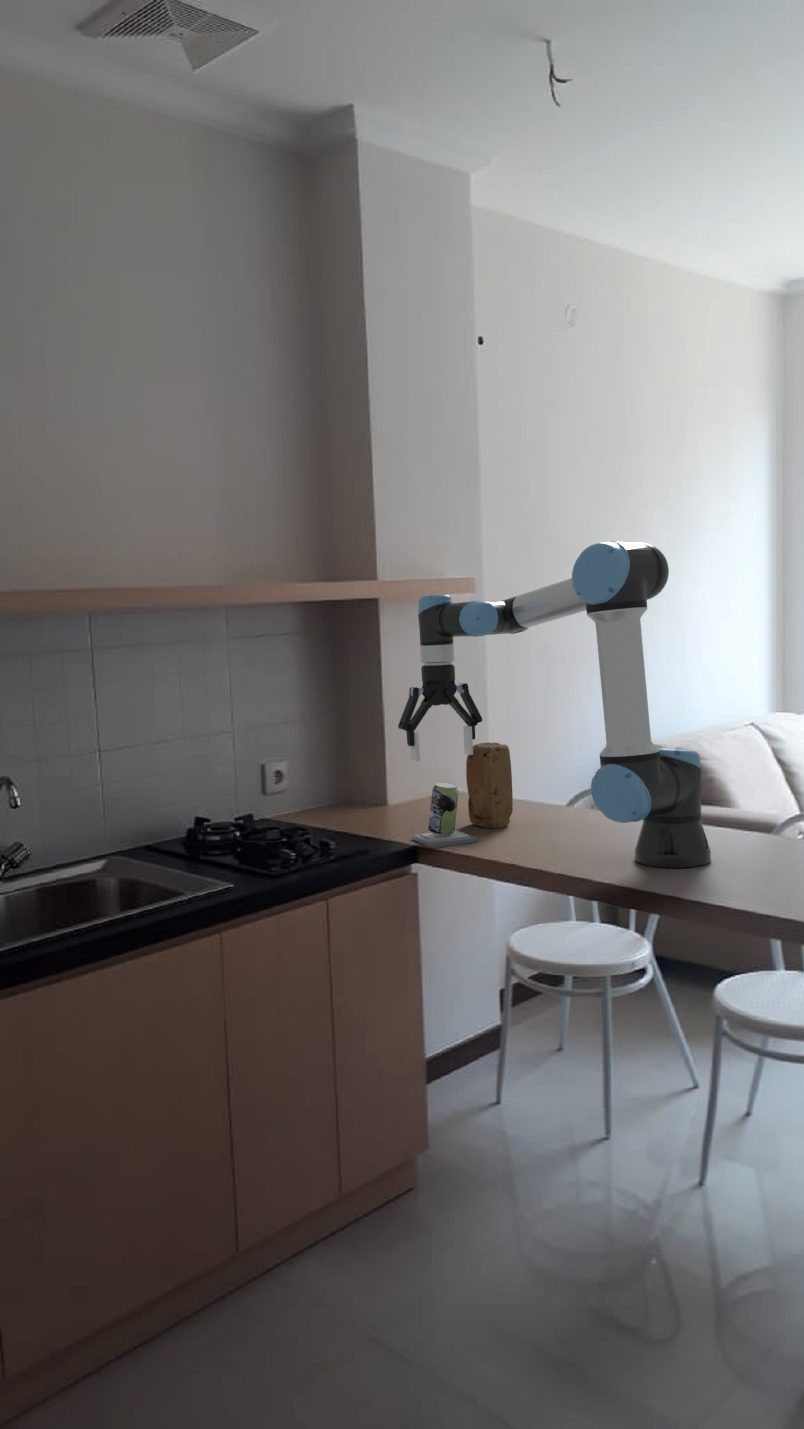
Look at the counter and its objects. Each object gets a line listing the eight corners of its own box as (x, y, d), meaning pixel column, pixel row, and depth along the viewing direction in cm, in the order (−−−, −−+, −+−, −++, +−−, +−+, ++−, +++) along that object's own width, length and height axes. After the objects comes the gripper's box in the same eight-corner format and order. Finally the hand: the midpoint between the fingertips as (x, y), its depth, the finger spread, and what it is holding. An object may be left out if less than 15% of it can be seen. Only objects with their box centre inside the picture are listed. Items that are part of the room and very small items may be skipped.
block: (516, 826, 272) (514, 743, 270) (493, 831, 268) (490, 747, 266) (486, 820, 281) (483, 740, 279) (463, 825, 276) (460, 743, 274)
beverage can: (433, 831, 263) (431, 780, 262) (463, 832, 261) (461, 781, 259) (424, 837, 257) (422, 785, 256) (456, 838, 255) (454, 785, 254)
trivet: (476, 841, 256) (476, 836, 256) (433, 848, 252) (433, 842, 252) (454, 833, 266) (454, 828, 266) (412, 839, 262) (411, 833, 261)
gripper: (478, 660, 264) (482, 750, 265) (380, 667, 253) (385, 761, 255) (494, 660, 257) (498, 753, 259) (394, 667, 246) (399, 764, 248)
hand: (442, 757), depth 257 cm, fingers open, 13 cm apart
